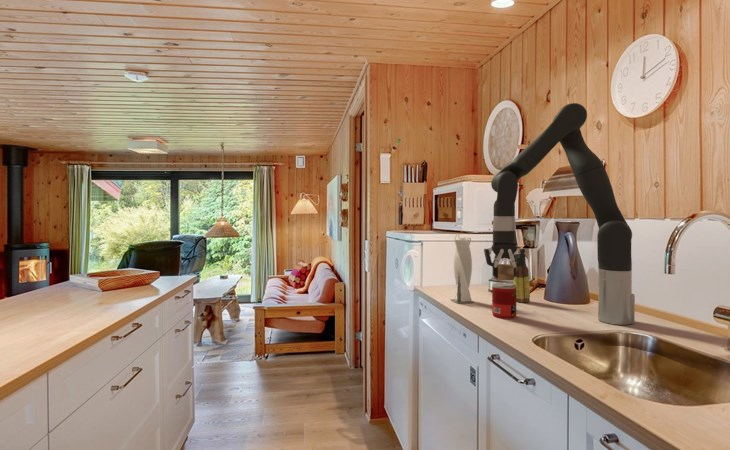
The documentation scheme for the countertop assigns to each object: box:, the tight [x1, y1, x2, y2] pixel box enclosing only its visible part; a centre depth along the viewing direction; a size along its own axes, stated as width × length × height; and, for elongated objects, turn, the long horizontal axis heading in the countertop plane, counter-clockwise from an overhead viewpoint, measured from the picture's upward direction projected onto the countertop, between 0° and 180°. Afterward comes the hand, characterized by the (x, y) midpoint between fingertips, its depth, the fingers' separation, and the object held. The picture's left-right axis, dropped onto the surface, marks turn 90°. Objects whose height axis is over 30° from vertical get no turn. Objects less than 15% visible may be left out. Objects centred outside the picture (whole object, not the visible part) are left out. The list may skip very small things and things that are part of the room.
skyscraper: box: [449, 233, 475, 305], centre depth 159 cm, size 8×8×28 cm
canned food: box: [491, 282, 517, 320], centre depth 135 cm, size 8×8×11 cm
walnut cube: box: [495, 263, 514, 281], centre depth 135 cm, size 5×5×5 cm
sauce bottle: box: [512, 252, 531, 304], centre depth 158 cm, size 7×6×20 cm
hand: (504, 277), depth 135 cm, fingers closed on walnut cube, 5 cm apart
